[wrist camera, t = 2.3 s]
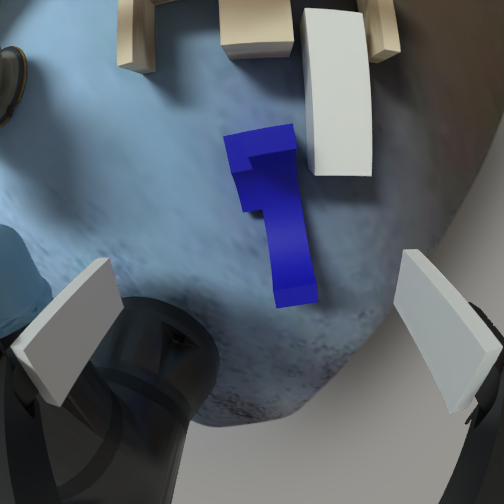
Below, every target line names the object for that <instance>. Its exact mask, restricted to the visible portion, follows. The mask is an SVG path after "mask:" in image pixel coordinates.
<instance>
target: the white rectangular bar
mask: <svg viewBox="0 0 504 504" xmlns="http://www.w3.org/2000/svg"><path fill="white" fill-rule="evenodd" d="M299 27H300V37H301V48H302V60H303V74H304V88H305V106H306V127H307V157H308V169H309V170H310V171H311V172H312V173H313V174H314V175H315V176H372V111H371V90H370V75H369V63H368V53H367V44H366V36H365V28H364V21H363V14H362V13H358V12H350V11H341V10H331V9H317V8H304V12H303V15H302V18H301V21H300V24H299Z"/></svg>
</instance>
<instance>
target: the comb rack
mask: <svg viewBox="0 0 504 504" xmlns="http://www.w3.org/2000/svg"><path fill="white" fill-rule="evenodd" d="M172 1H177V0H119V3H118V22H117V66H118V67H122V68H125V69H128V70H131V71H134V72H137V73H140V74H146V73H151V72H155V71H156V59H155V6H156V5H160V4H164V3H168V2H172ZM356 1H357V7H358V13H362V14H363V21H364V28H365V36H366V44H367V53H368V62H372V63H380V62H382V61H384V60H386V59H388V58H390V57H392V56H394V55H396V54H398V53H400V52H401V50H400V42H399V35H398V28H397V22H396V16H395V10H394V5H393V0H356ZM219 16H220V36H221V46H222V48H223V49H224V51H225V53H226V54H227V56H228V58H229V59H230V60H236V59H250V58H271V57H289V56H290V53H291V50H292V46H293V43H294V35H293V24H292V14H291V5H290V0H219Z"/></svg>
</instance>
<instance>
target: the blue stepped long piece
mask: <svg viewBox="0 0 504 504" xmlns="http://www.w3.org/2000/svg"><path fill="white" fill-rule="evenodd" d="M223 138H224V142H225V147H226V151H227V156H228V161H229V165H230V170H231V174H232V176H233V179H234V182H235V185H236V188H237V191H238V194H239V198H240V202H241V206H242V210H243V212H249V211H255V210H260V209H262V210H263V216H264V221H265V227H266V233H267V239H268V246H269V253H270V261H271V269H272V280H273V293H274V298H275V304H276V308H283V307H290V306H296V305H303V304H309V303H315V302H318V293H317V284H316V280H315V276H314V271H313V266H312V262H311V256H310V251H309V246H308V240H307V235H306V229H305V223H304V217H303V211H302V205H301V198H300V191H299V184H298V177H297V168H296V149H297V144H296V138H295V133H294V128H293V124H286V125H280V126H274V127H268V128H263V129H257V130H252V131H247V132H242V133H237V134H233V135H228V136H223Z"/></svg>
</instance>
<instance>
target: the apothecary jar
mask: <svg viewBox="0 0 504 504" xmlns="http://www.w3.org/2000/svg"><path fill="white" fill-rule="evenodd" d="M26 73H27V66H26V59H25V55H24V53H23V51H22V50H21V49H20V48H18V47H15V46H9V47H6V48H4V49H2V50H1V48H0V127H1V126H3V125H4V124H5V123H6V122H7V121H8V120H9V119H10V118H11V116H12V112H13V109H14V107H15V105H16V104H17V103H19V102H20V99H21V97H22V94H23V90H24V87H25V82H26Z"/></svg>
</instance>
